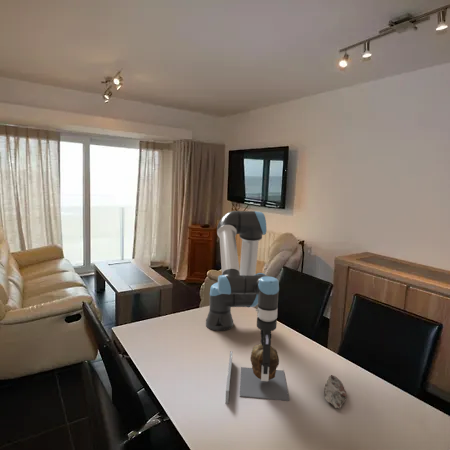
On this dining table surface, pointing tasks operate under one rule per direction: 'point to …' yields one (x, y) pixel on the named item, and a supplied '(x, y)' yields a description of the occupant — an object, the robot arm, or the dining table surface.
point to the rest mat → (263, 386)
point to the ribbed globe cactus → (258, 358)
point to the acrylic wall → (228, 378)
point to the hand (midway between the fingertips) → (263, 371)
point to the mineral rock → (334, 391)
